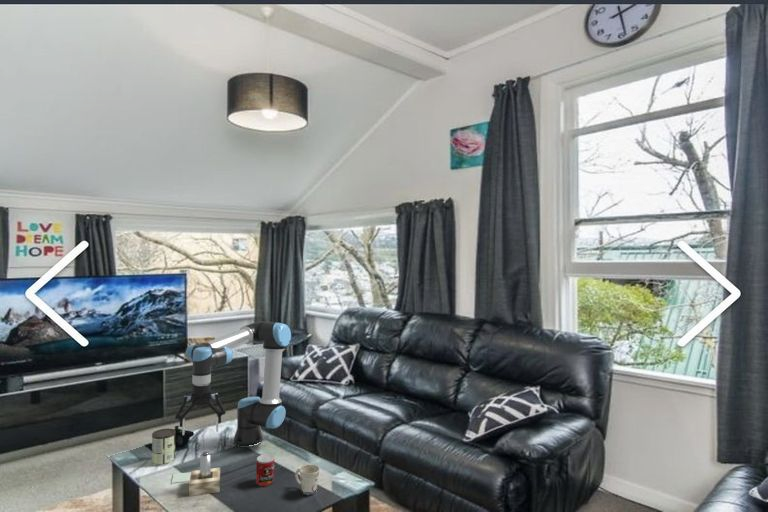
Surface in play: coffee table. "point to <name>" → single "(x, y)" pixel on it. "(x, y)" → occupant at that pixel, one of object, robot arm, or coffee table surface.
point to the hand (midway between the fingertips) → (200, 432)
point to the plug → (205, 465)
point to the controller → (182, 436)
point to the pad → (181, 477)
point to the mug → (308, 477)
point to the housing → (204, 483)
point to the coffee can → (163, 447)
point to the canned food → (265, 469)
